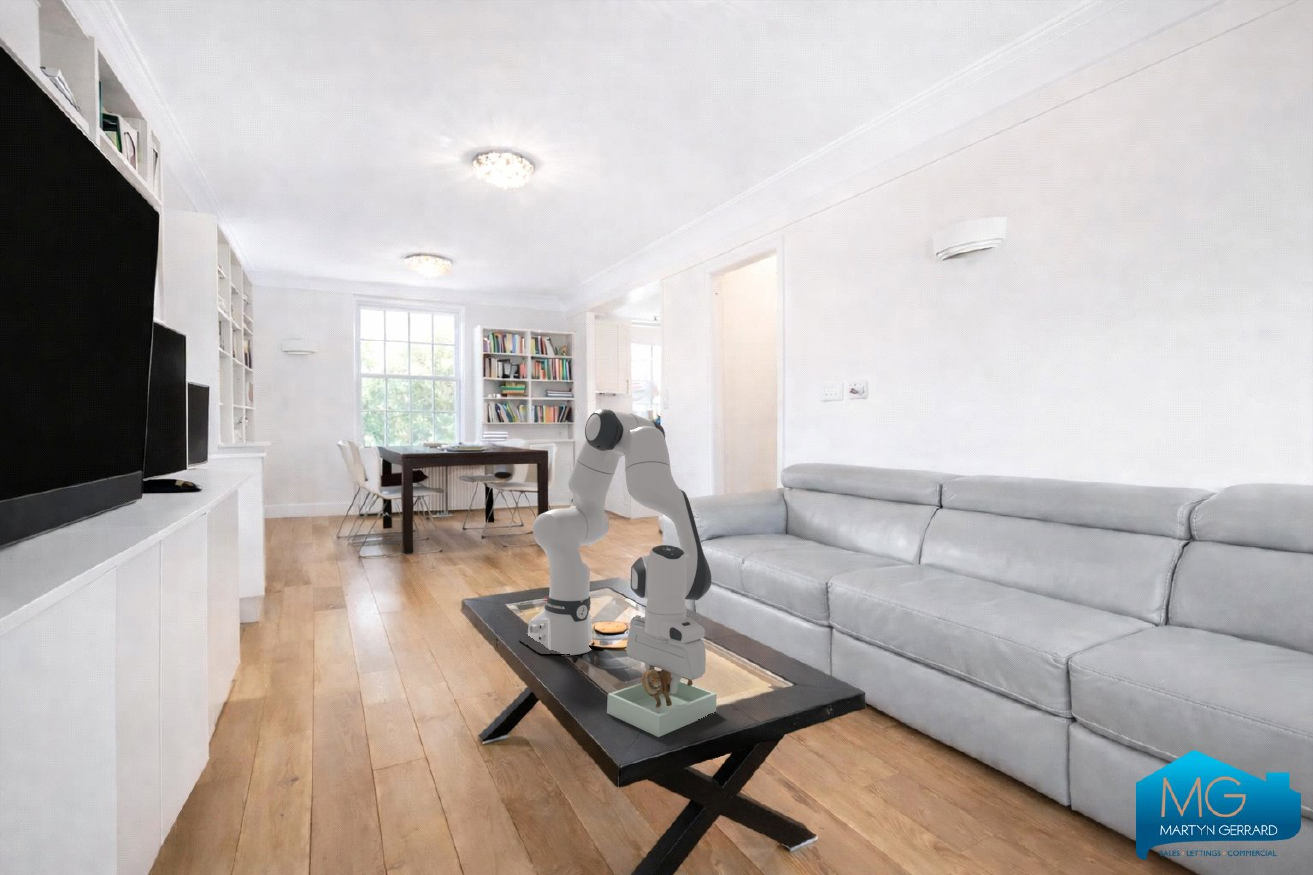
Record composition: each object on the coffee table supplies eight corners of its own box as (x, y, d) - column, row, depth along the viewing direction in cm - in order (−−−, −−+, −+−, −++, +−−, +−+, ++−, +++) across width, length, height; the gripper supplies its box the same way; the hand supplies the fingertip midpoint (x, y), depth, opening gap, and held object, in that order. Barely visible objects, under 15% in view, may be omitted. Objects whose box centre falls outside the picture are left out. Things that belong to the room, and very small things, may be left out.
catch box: (606, 713, 133) (607, 693, 134) (664, 692, 146) (665, 674, 147) (658, 737, 123) (659, 716, 123) (715, 712, 136) (716, 693, 136)
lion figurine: (667, 715, 128) (653, 674, 128) (646, 717, 131) (632, 676, 131) (697, 679, 141) (684, 641, 141) (677, 681, 144) (665, 643, 144)
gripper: (621, 615, 140) (618, 678, 140) (691, 636, 126) (688, 706, 126) (641, 611, 145) (638, 672, 144) (711, 631, 131) (708, 698, 130)
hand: (662, 688), depth 135 cm, fingers closed on lion figurine, 4 cm apart
